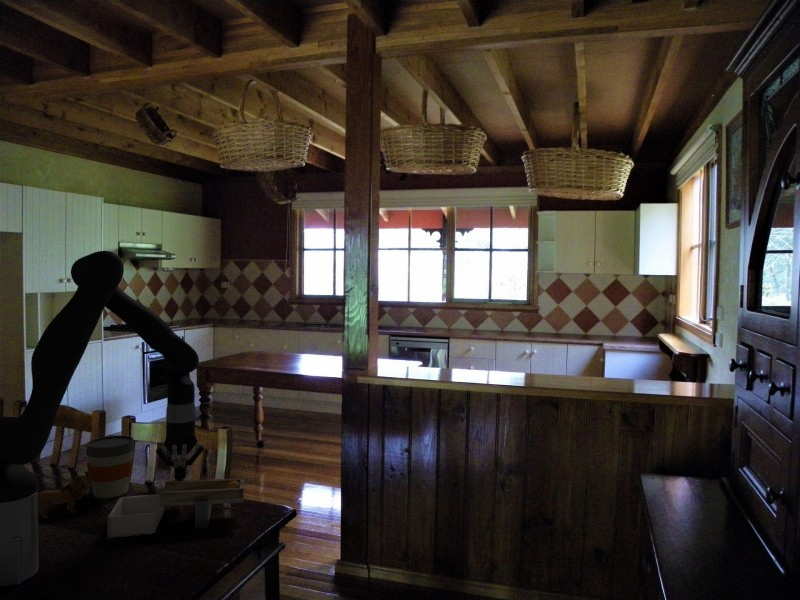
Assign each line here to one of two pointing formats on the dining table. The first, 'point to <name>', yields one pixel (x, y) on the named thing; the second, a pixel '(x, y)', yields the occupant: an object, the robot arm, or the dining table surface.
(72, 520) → the dining table surface
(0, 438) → the robot arm
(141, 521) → the tray
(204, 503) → the fulcrum
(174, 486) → the lever
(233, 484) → the ball
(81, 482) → the lion figurine
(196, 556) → the dining table surface
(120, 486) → the reusable coffee cup
